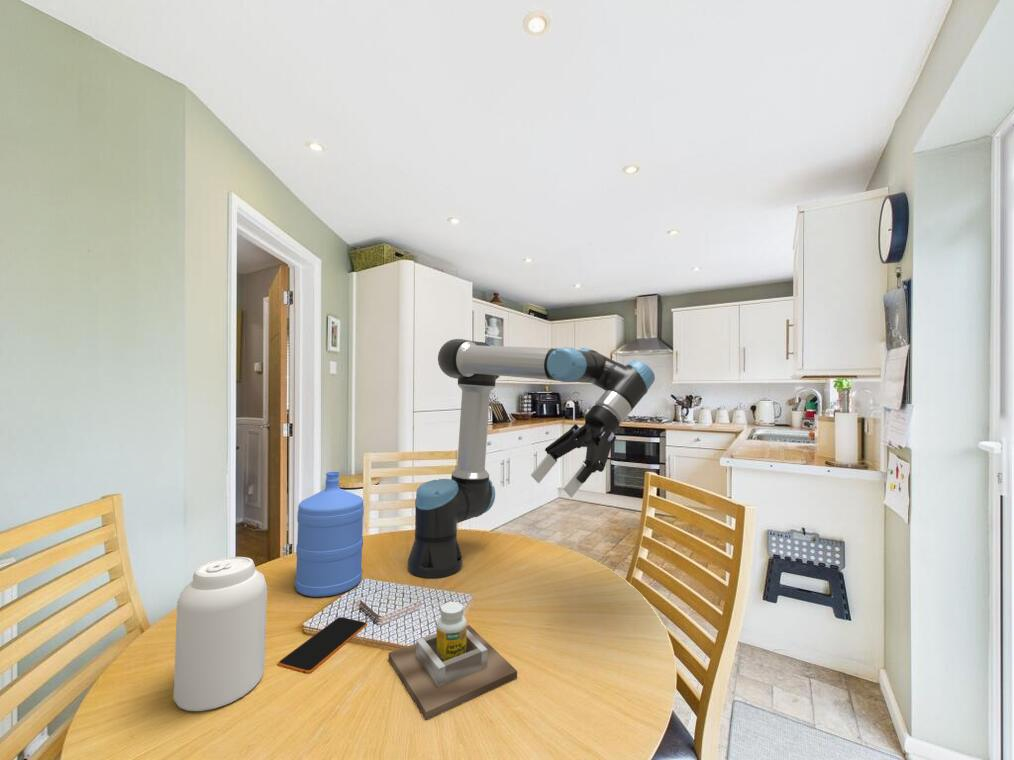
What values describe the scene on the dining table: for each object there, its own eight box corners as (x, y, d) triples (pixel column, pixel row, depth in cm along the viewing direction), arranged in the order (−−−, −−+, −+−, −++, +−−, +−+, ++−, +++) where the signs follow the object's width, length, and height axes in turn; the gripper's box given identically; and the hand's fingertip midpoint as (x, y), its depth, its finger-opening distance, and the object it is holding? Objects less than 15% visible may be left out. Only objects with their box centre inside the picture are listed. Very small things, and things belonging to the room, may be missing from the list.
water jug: (370, 587, 105) (373, 475, 106) (302, 605, 96) (306, 482, 96) (351, 565, 118) (354, 465, 118) (289, 580, 108) (292, 471, 109)
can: (163, 725, 61) (168, 587, 62) (182, 673, 73) (187, 557, 73) (262, 698, 67) (266, 572, 68) (266, 653, 78) (269, 545, 79)
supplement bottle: (457, 648, 79) (459, 596, 79) (471, 664, 75) (472, 609, 75) (431, 658, 76) (432, 604, 76) (443, 675, 72) (445, 618, 72)
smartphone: (368, 625, 89) (368, 621, 89) (309, 677, 73) (309, 672, 73) (338, 619, 91) (338, 615, 91) (275, 667, 75) (275, 662, 75)
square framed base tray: (388, 659, 77) (389, 636, 77) (468, 630, 87) (469, 610, 87) (426, 720, 63) (426, 691, 63) (517, 677, 73) (517, 653, 73)
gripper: (655, 431, 87) (594, 512, 80) (584, 422, 109) (533, 484, 103) (635, 405, 85) (571, 486, 78) (567, 401, 107) (513, 463, 101)
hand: (549, 485), depth 90 cm, fingers open, 13 cm apart
